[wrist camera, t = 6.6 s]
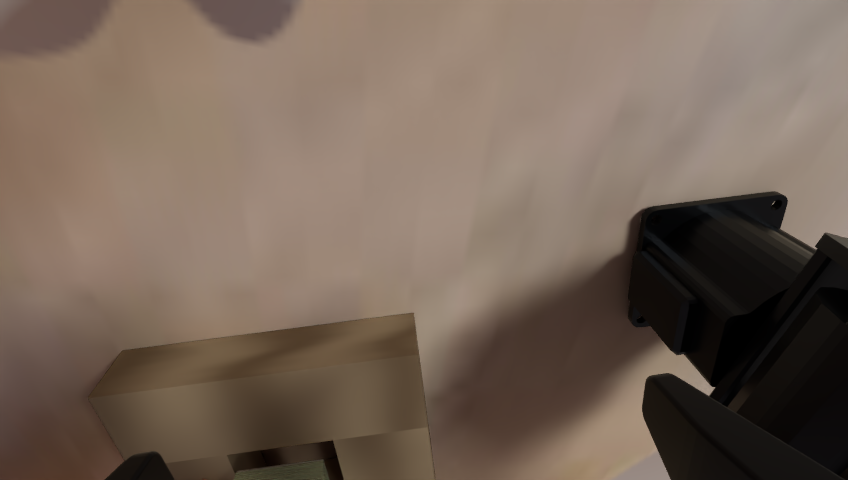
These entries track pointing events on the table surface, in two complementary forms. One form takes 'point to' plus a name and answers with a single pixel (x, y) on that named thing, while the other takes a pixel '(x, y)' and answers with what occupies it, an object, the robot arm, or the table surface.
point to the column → (287, 472)
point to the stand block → (275, 400)
